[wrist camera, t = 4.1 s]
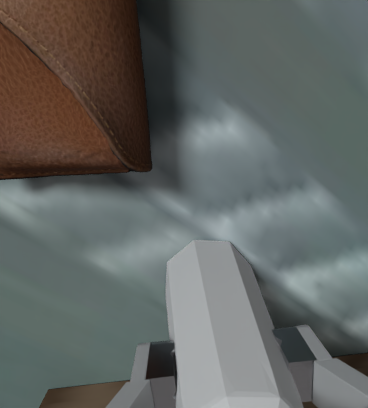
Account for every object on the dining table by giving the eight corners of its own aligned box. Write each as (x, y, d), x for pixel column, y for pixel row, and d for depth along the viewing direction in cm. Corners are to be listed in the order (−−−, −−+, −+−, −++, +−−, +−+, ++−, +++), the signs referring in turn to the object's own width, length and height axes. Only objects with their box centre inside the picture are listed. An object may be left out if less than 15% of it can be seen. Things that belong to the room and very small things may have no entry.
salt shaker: (260, 300, 15) (452, 663, 5) (179, 325, 16) (186, 721, 5) (238, 224, 14) (434, 489, 3) (149, 253, 14) (72, 581, 4)
